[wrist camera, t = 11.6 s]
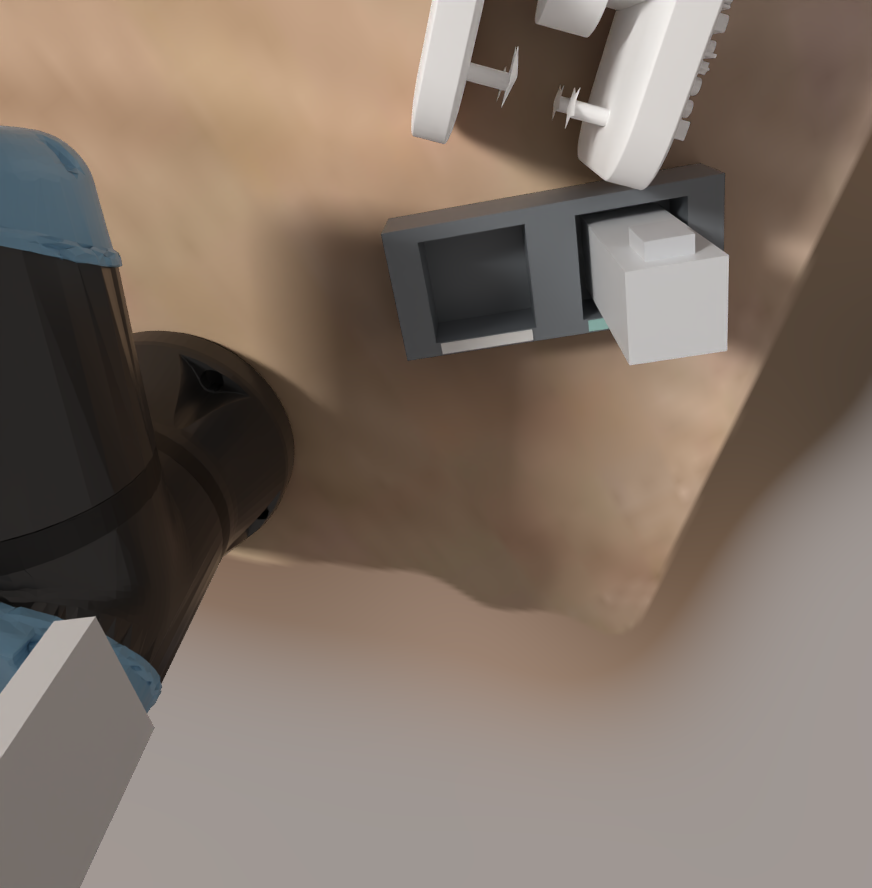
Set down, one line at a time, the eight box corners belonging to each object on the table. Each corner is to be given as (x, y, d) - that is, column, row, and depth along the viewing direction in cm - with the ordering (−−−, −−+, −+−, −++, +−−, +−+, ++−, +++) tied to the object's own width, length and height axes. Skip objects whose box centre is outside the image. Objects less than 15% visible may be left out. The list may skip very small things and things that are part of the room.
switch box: (412, 336, 42) (407, 361, 39) (388, 218, 39) (380, 234, 36) (700, 290, 41) (723, 312, 37) (700, 163, 37) (725, 173, 34)
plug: (585, 286, 40) (629, 365, 30) (579, 200, 38) (623, 252, 27) (657, 275, 40) (727, 350, 29) (654, 187, 37) (729, 234, 27)
